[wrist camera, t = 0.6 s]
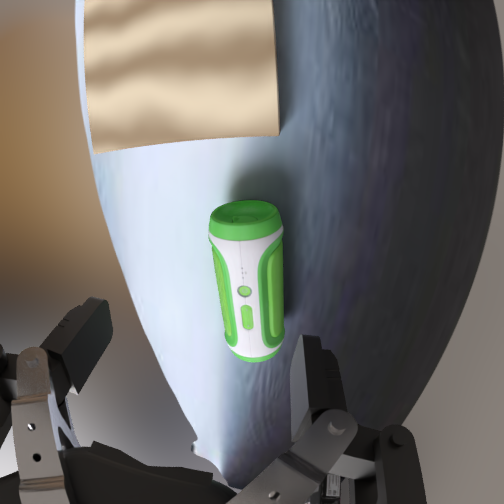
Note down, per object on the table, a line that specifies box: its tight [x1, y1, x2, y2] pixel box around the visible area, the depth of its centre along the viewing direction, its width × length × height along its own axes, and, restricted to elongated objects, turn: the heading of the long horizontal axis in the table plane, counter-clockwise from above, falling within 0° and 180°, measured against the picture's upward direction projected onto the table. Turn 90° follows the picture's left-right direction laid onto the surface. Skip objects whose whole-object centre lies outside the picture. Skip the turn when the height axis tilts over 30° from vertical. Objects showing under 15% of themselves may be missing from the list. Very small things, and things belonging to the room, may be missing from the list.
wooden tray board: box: [84, 0, 280, 154], centre depth 20 cm, size 30×19×4 cm, turn 3°
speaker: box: [209, 200, 285, 362], centre depth 32 cm, size 18×7×8 cm, turn 4°
